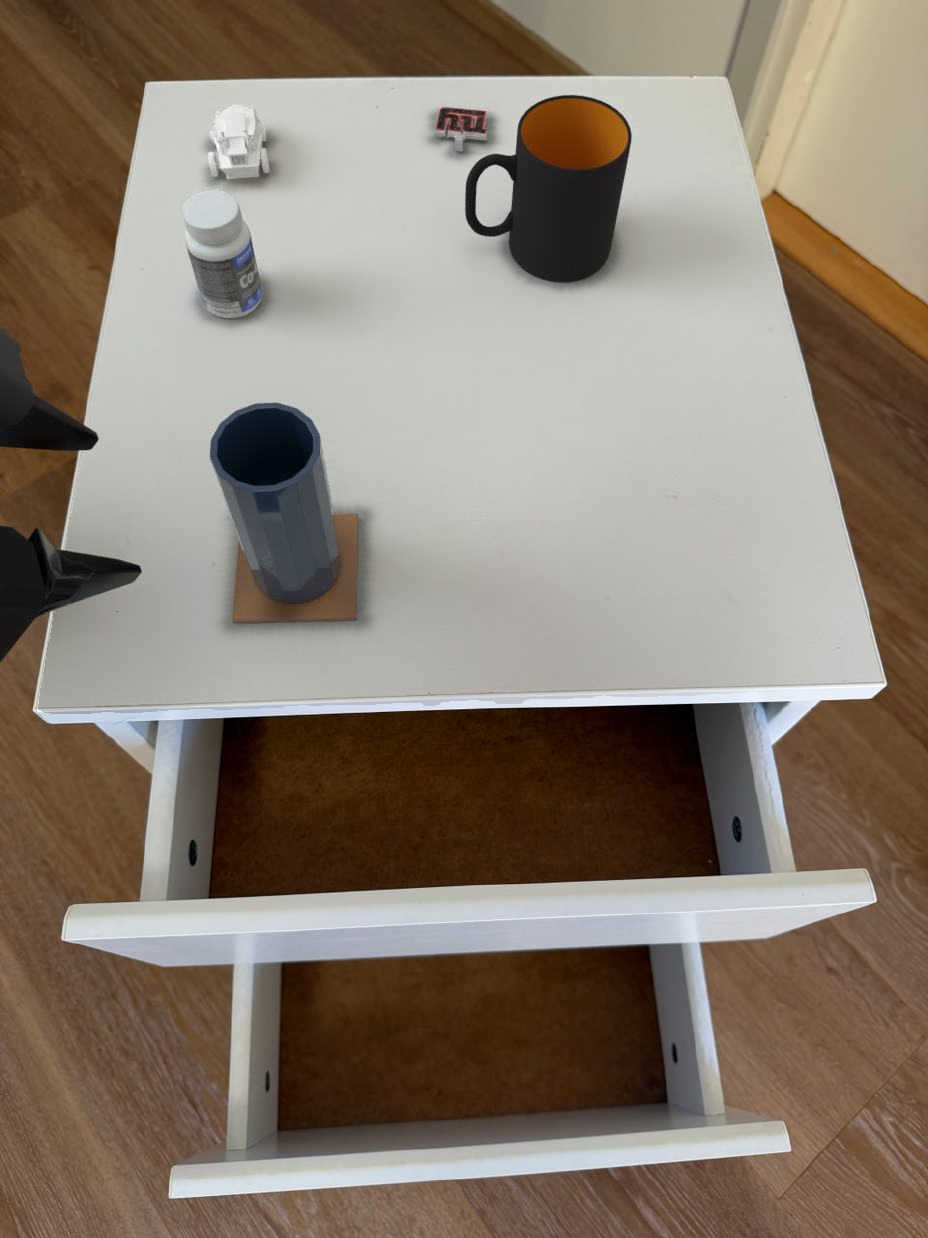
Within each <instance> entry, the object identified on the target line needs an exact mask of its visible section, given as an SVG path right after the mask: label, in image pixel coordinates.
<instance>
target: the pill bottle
mask: <svg viewBox="0 0 928 1238" xmlns="http://www.w3.org/2000/svg"><path fill="white" fill-rule="evenodd" d="M241 212H242V211H241V208H240V205H239V202H238V200H237V199H236V197H234V195H232V194H230V193H228V192H226V191H222V190H216V189H212V190H211V189H210V190H204V191H201V192H198V193H196V194H194V195H192V196H191V197H189V199H187V200H186V202H185V203H184V205H183V207H182V218H183V221H184V226H185V233H184V243H185V247H186V250H187V254H188V257H189V260H190V265H191V267H192V272H193V275H194V278H195V281H196V284H197V285H196V286H197V288H198V293H199V295H200V298H201V301H202V304H203V306H204V307H205V309H206V310H207V311H208V312H209V313H211V314H212V315H214V316H216V317H219V318H225V319H237V318H241V317H245V316H247V315H249V314H250V313H252V312H253V311H254V310H256V309H257V308H258V307H259V305H260V303H261V301H262V298H263V286H262V283H261V277H260V273H259V267H258V263H257V258H256V254H255V250H254V245H253V240H252V235H251V231H250V228H249V226H248V224H247V223H246V221H245V220H244V219H243V214H242V213H241Z"/></svg>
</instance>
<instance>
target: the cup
mask: <svg viewBox="0 0 928 1238" xmlns="http://www.w3.org/2000/svg"><path fill="white" fill-rule="evenodd" d="M209 445H210V446H209V460H210V463H211V465H212V468H213V471H214V474H215V477H216V479H217V482H218V485H219V488H220V490H221V494H222V497H223V500H224V503H225V505H226V508H227V510H228V513H229V516H230V519H231V522H232V525H233V528H234V531H235V533H236V536H237V539H238V541H239V542H240V545H241V547H242V550H243V553H244V556H245V559H246V562H247V564H248V567H249V570H250V572H251V574H252V577H253V579H254V582H255V584H256V585H257V587H258V588H259V589H260V590H261V591H262V592H263V593H264V594H265V595H266V596H268V597H269V598H271V599H273V600H276V601H278V602H282V603H288V604H299V603H305V602H309V601H312V600H314V599H317V598H319V597H320V596H322V595H323V594H325V593H326V592H327V591H328V590H329V589H330V588H331V587H332V586H333V585H334V583H335V582H336V580H337V579H338V577H339V574H340V571H341V564H342V560H341V549H340V543H339V538H338V532H337V527H336V521H335V516H334V514H335V509H334V504H333V500H332V495H331V488H330V482H329V478H328V472H327V466H326V461H325V454H324V450H323V443H322V439H321V434H320V432H319V430H318V428H317V427H316V425H315V423H314V421H313V420H312V419H311V418H310V417H309V416H308V415H307V414H305V413H304V412H303V411H301V410H300V409H299V408H297V407H294V406H290V405H287V404H284V403H281V402H259V403H258V402H257V403H253V404H251V405H248V406H245V407H242V408H239V409H236V410H235V411H233V412H232V413H231V414H230V415H229V416H227V417H226V418H225V419H223V420H222V421H220V423H219V424H218V425H217V428H216V429H215V431H214V433H213V435H212V436H211V439H210V444H209Z"/></svg>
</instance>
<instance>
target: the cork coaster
mask: <svg viewBox="0 0 928 1238" xmlns="http://www.w3.org/2000/svg"><path fill="white" fill-rule="evenodd" d="M334 516H335V521H336V527H337V532H338V538H339V543H340V549H341V560H342V564H341V571H340V574H339V577H338V579H337V580H336V582H335V583H334V585H333V586H332V587H331V588H330V589H329V590H328V591H327V592H326V593H325V594H323V595H322V596H320V597H319V598H317V599H314V600H312V601H309V602H305V603H299V604H288V603H282V602H278V601H276V600H273V599H271V598H269V597H268V596H266V595H265V594H264V593H263V592H262V591H261V590H260V589H259V588H258V587H257V585H256V584H255V582H254V579H253V577H252V574H251V572H250V570H249V567H248V564H247V562H246V559H245V556H244V553H243V550H242V547H241V545H240V542H239V540H238V541H237V542H238V543H237V555H236V565H235V566H236V568H235V580H234V581H235V582H234V595H233V605H232V606H233V607H232V618H231V620H232V623H233V624H239V623H243V624H244V623H245V624H246V623H281V622H284V623H285V622H287V623H288V622H289V623H290V622H324V621H325V622H326V621H356V620H357V619H358V618H357V615H358V614H357V611H358V610H357V608H358V605H357V604H358V602H357V601H358V549H359V548H358V546H359V545H358V544H359V543H358V541H359V539H358V538H359V537H358V536H359V515H358V513H336V514H335V513H334Z"/></svg>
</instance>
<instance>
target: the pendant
mask: <svg viewBox="0 0 928 1238" xmlns="http://www.w3.org/2000/svg"><path fill="white" fill-rule="evenodd" d="M487 118H488V113H487V110H478V109H469V108H460V107H459V108H457V107H447V106H443V107H440V108H439V111H438V114H437V119H436V124H435V128H434V136H435V137H446V138H454V152H463V150H464V148H463V147H464V141H465V142H466V139H468V140H476V141H477V140H478V141H487V140H488V138H487V137H488V129H487V128H486V124H487Z"/></svg>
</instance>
